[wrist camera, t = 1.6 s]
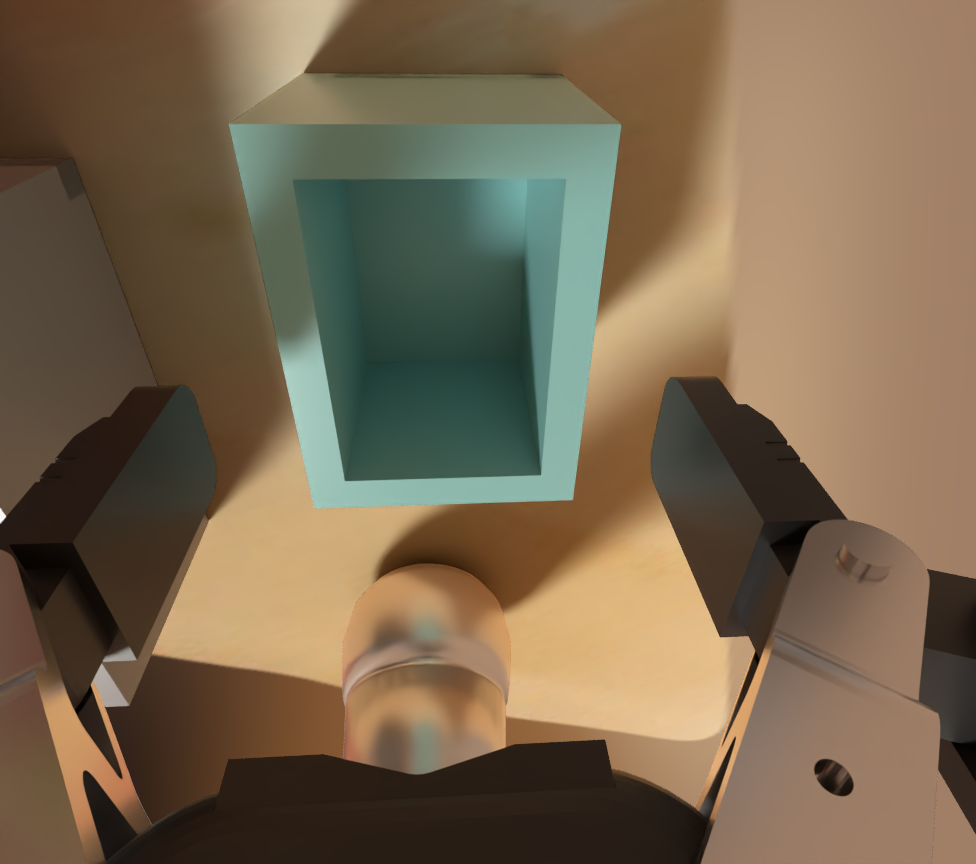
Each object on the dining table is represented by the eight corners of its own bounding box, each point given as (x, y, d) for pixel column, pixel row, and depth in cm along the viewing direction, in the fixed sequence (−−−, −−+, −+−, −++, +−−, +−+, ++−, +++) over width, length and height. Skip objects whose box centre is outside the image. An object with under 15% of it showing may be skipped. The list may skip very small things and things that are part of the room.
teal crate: (302, 73, 14) (229, 123, 9) (562, 74, 14) (621, 124, 9) (347, 372, 19) (314, 508, 14) (540, 368, 19) (573, 500, 14)
